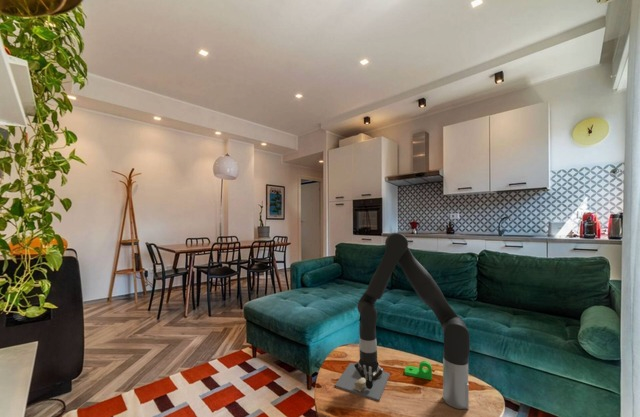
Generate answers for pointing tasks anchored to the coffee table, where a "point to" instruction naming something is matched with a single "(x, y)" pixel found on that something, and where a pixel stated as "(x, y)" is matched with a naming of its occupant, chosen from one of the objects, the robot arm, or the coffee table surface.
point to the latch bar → (363, 382)
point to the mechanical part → (420, 370)
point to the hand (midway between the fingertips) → (369, 387)
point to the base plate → (353, 375)
